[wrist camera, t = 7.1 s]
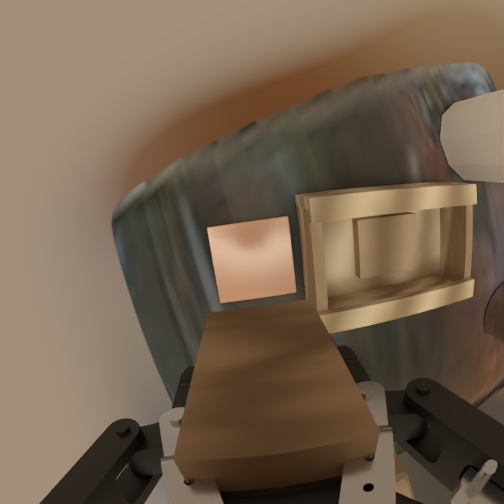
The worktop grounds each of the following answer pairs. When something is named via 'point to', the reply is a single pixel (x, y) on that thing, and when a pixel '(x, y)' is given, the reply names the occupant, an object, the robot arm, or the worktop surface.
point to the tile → (252, 259)
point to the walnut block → (271, 402)
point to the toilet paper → (475, 137)
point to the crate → (385, 250)
